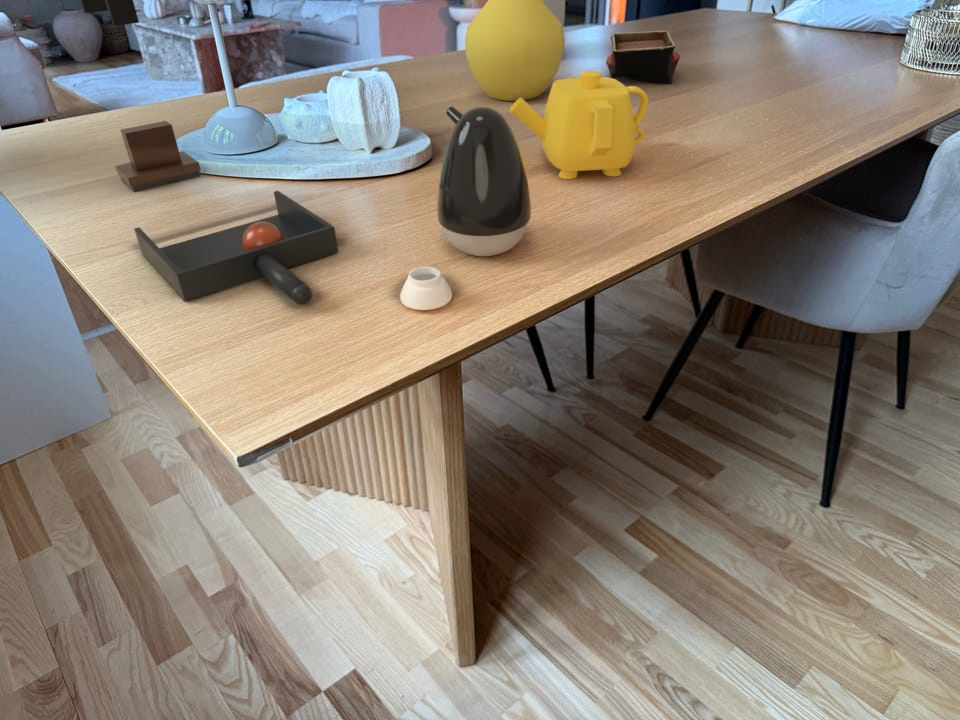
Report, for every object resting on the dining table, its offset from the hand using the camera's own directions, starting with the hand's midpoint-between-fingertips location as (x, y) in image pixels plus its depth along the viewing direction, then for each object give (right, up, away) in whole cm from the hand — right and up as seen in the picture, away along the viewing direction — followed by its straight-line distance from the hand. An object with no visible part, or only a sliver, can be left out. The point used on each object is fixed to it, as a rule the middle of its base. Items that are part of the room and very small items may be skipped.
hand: (110, 17), depth 85 cm
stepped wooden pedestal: (+1, -18, +12) cm, 21 cm away
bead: (+22, -29, -10) cm, 38 cm away
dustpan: (+21, -32, -10) cm, 40 cm away
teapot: (+59, -14, +14) cm, 62 cm away
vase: (+52, +9, +49) cm, 71 cm away
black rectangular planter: (+78, +16, +58) cm, 99 cm away
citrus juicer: (+56, +29, +77) cm, 100 cm away
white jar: (+40, -36, -16) cm, 56 cm away
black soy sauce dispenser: (+46, -29, -7) cm, 55 cm away
